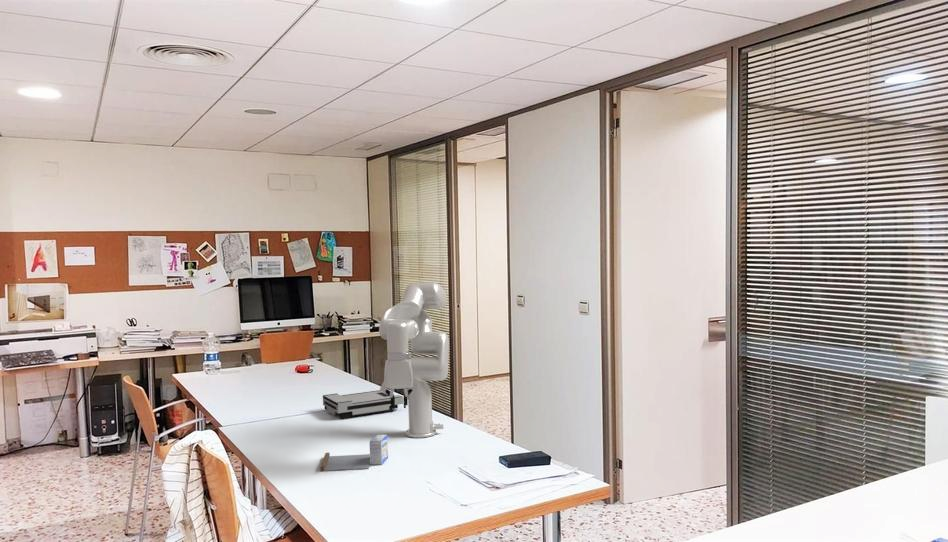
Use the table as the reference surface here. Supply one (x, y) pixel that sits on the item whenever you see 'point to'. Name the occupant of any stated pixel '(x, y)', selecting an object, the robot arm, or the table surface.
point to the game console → (360, 404)
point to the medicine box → (378, 449)
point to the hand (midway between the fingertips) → (399, 407)
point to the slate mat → (348, 462)
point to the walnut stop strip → (324, 461)
